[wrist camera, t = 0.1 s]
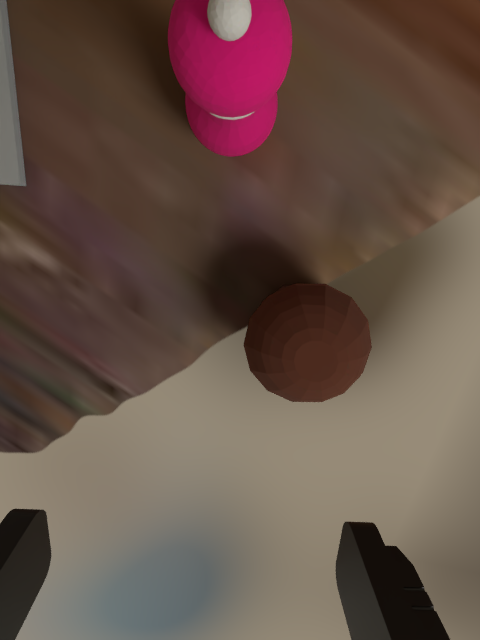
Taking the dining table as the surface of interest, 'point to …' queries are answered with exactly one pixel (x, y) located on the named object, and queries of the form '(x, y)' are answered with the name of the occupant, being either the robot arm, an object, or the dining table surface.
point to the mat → (9, 111)
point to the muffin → (307, 342)
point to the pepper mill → (230, 68)
